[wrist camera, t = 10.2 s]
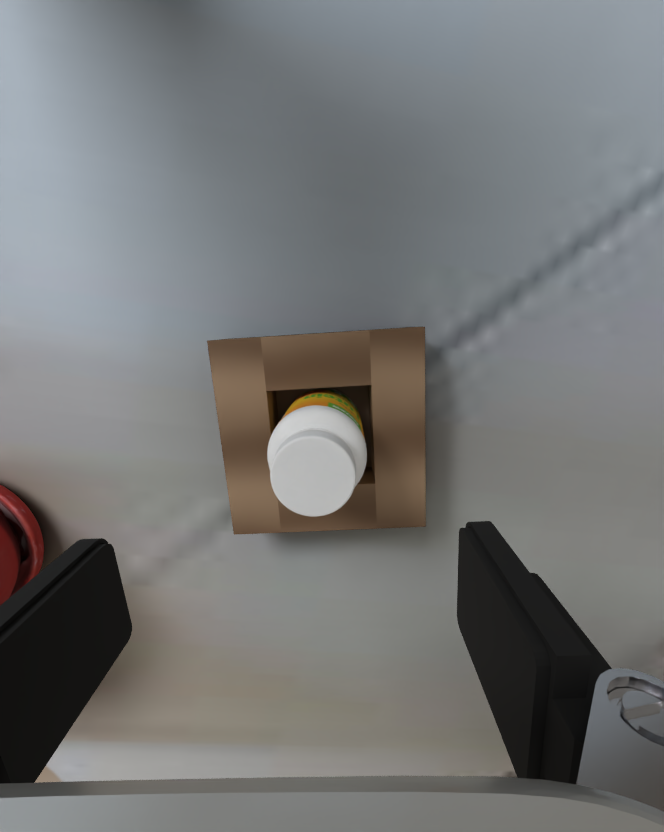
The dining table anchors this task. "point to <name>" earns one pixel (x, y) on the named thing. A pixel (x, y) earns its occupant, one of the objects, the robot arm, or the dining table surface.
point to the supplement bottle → (317, 453)
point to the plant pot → (17, 544)
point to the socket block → (347, 373)
